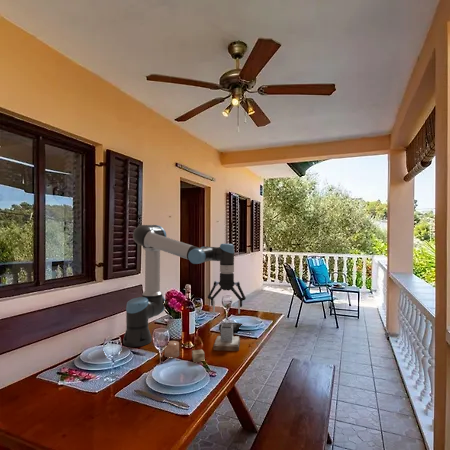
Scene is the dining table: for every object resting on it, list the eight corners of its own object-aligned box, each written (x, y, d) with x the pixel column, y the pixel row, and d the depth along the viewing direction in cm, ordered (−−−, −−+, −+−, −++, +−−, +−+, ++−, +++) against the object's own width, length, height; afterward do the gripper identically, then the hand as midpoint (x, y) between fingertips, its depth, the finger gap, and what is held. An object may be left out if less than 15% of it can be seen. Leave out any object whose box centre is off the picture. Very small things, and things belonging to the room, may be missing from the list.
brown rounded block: (162, 358, 150) (162, 345, 150) (167, 352, 157) (167, 340, 157) (176, 358, 149) (176, 346, 149) (180, 353, 156) (180, 341, 156)
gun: (216, 337, 177) (219, 319, 180) (234, 339, 192) (237, 322, 195) (223, 338, 174) (226, 320, 177) (240, 340, 190) (243, 323, 193)
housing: (222, 337, 169) (222, 322, 169) (233, 337, 168) (233, 323, 168) (220, 342, 162) (220, 326, 162) (232, 342, 161) (231, 327, 161)
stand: (213, 350, 159) (213, 344, 159) (216, 340, 172) (216, 335, 172) (238, 350, 158) (238, 345, 158) (240, 341, 171) (240, 336, 171)
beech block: (194, 363, 144) (194, 354, 144) (192, 358, 149) (192, 350, 149) (204, 361, 146) (204, 353, 146) (202, 357, 151) (202, 349, 151)
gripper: (202, 273, 163) (202, 313, 163) (250, 274, 160) (249, 315, 160) (204, 271, 170) (204, 309, 170) (250, 272, 168) (250, 311, 168)
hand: (226, 312), depth 165 cm, fingers open, 13 cm apart
